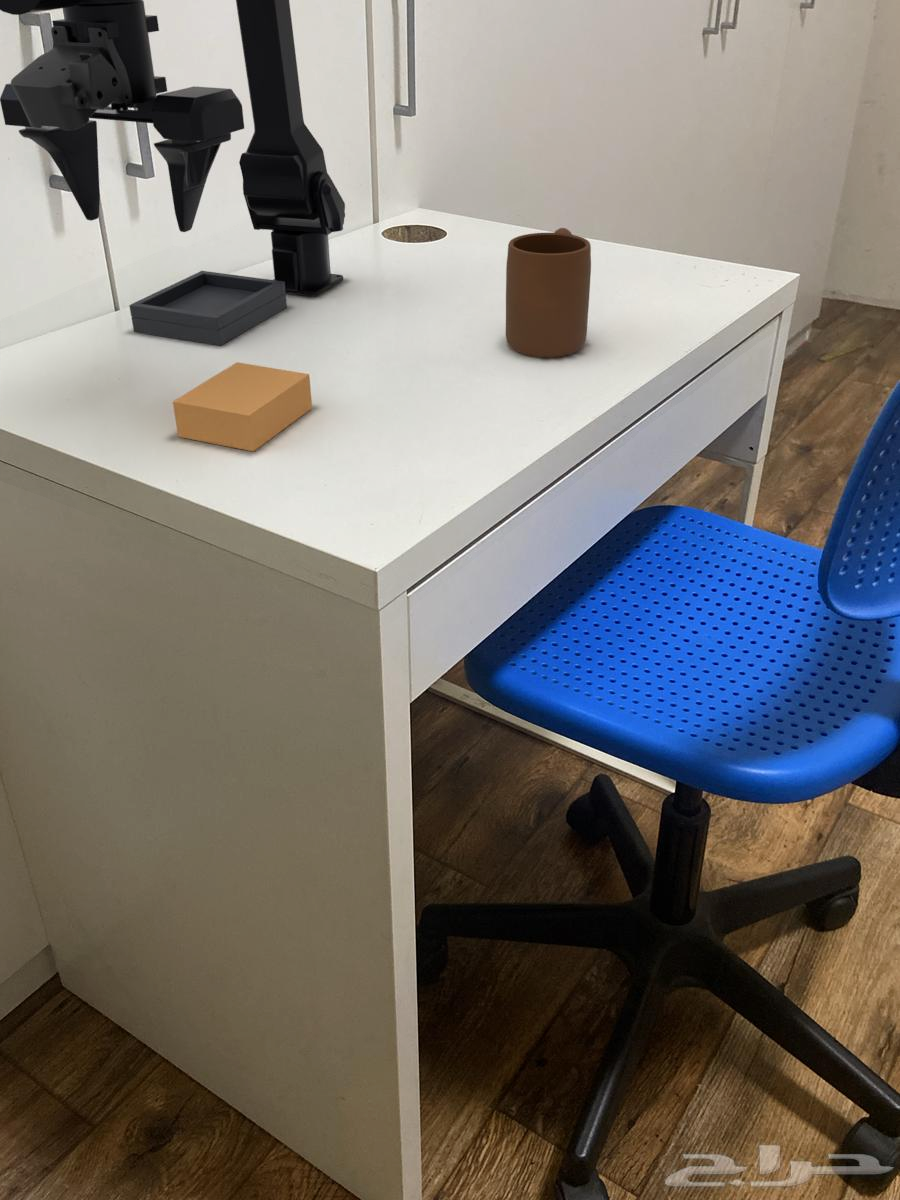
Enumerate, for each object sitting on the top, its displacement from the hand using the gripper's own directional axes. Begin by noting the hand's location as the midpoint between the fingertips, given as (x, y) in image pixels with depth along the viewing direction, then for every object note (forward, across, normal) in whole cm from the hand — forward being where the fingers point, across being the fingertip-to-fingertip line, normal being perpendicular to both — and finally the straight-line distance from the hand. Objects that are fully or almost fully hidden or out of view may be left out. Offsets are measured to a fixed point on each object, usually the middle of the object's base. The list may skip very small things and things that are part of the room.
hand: (138, 225), depth 87 cm
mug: (+14, +26, +25) cm, 39 cm away
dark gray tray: (+14, -7, +17) cm, 23 cm away
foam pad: (+14, +10, -3) cm, 18 cm away
